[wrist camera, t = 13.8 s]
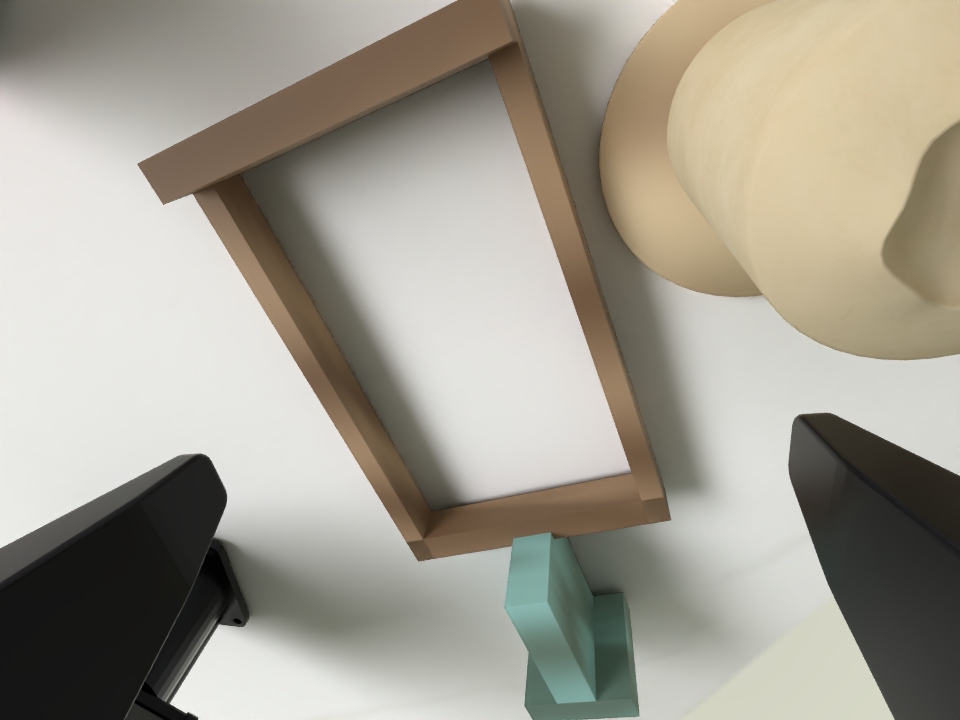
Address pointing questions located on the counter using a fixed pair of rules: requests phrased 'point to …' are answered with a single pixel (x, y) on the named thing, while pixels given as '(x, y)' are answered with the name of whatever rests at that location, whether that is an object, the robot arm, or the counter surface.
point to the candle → (834, 166)
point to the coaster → (665, 155)
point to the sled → (460, 530)
